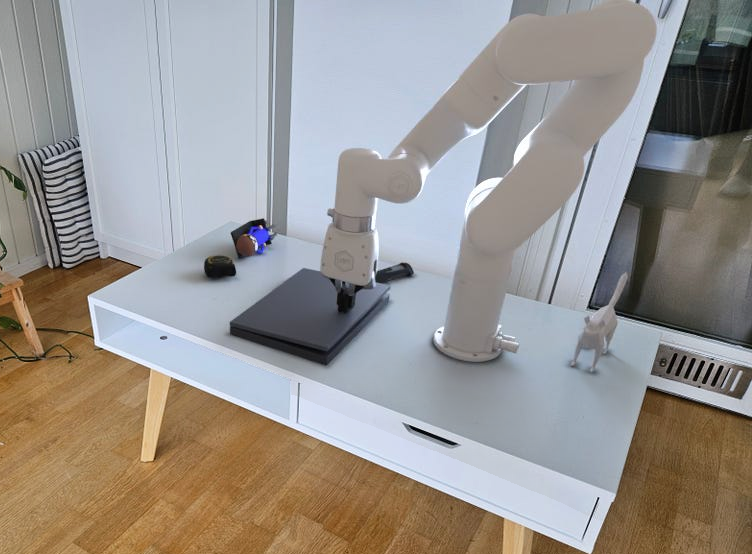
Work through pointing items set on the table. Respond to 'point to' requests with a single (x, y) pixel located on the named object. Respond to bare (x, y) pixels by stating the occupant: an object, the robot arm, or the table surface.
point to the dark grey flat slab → (310, 352)
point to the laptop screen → (307, 311)
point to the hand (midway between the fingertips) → (345, 309)
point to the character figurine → (252, 237)
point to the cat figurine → (600, 327)
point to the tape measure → (219, 267)
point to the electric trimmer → (393, 272)
